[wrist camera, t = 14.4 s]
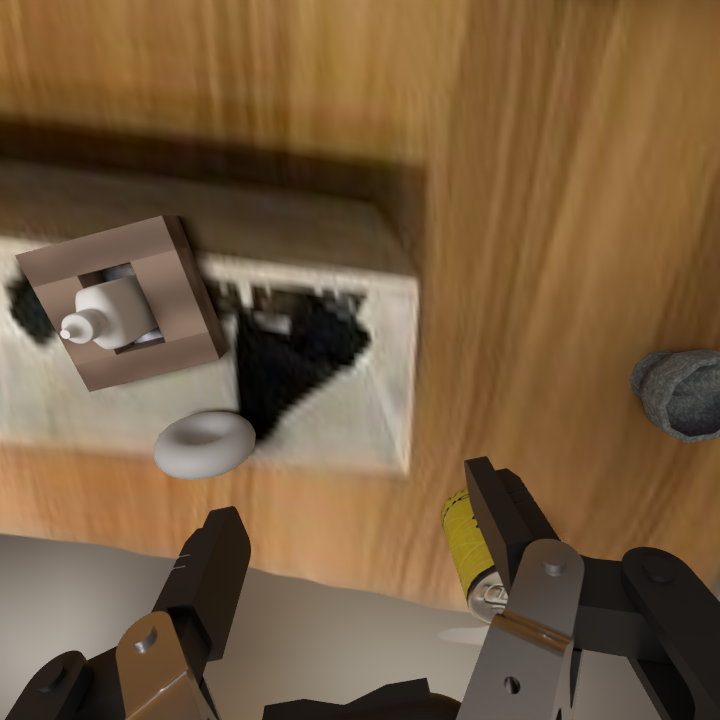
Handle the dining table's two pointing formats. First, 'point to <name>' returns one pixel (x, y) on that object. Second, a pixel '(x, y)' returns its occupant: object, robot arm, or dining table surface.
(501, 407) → the dining table surface
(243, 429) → the donut
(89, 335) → the eye dropper bottle
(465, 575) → the beverage can
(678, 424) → the mortar and pestle
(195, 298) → the walnut socket block
